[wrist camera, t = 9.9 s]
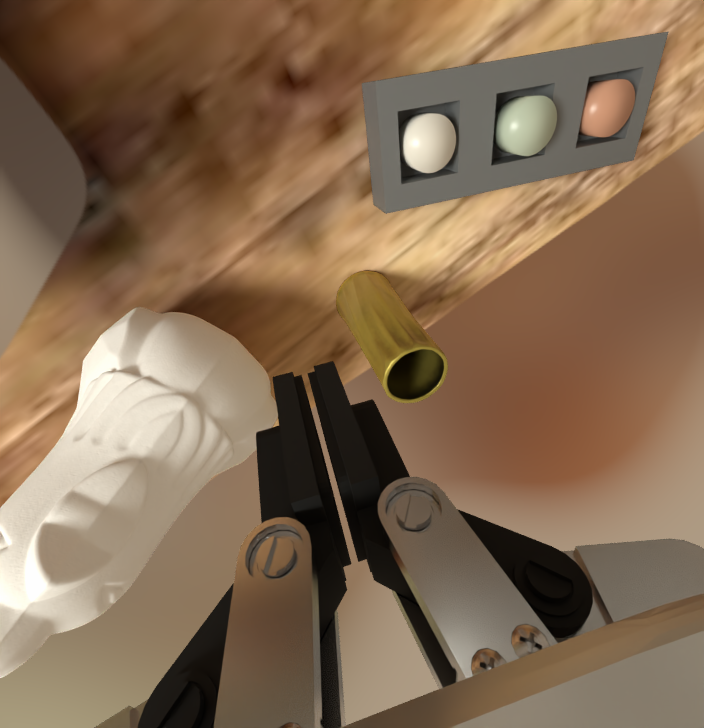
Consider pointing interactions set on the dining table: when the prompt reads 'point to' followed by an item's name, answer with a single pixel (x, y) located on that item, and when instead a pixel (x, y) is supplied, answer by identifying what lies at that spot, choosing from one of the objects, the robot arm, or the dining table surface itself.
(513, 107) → the sage button
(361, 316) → the vase
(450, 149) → the cream rounded piece
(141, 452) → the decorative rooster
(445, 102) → the button panel
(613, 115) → the terracotta button
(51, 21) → the dining table surface
